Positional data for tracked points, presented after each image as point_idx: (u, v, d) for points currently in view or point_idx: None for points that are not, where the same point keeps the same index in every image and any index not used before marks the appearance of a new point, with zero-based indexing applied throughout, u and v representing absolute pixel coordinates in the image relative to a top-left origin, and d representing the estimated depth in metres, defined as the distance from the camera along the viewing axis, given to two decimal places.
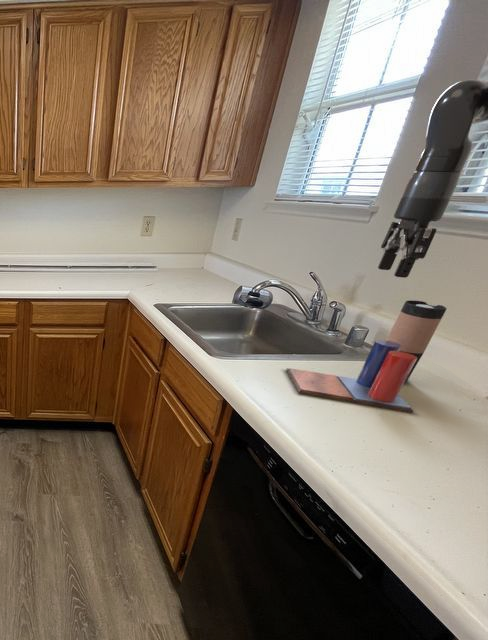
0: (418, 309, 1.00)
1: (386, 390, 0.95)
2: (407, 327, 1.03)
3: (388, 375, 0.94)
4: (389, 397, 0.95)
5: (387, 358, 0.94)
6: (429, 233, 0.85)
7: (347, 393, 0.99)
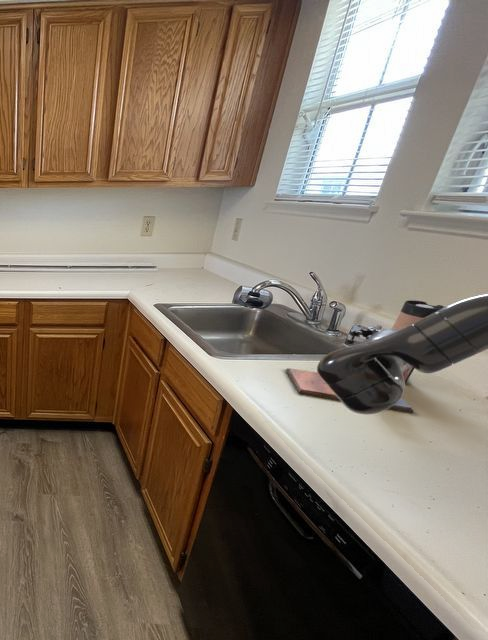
0: (418, 309, 1.00)
1: None
2: None
3: None
4: None
5: None
6: None
7: None
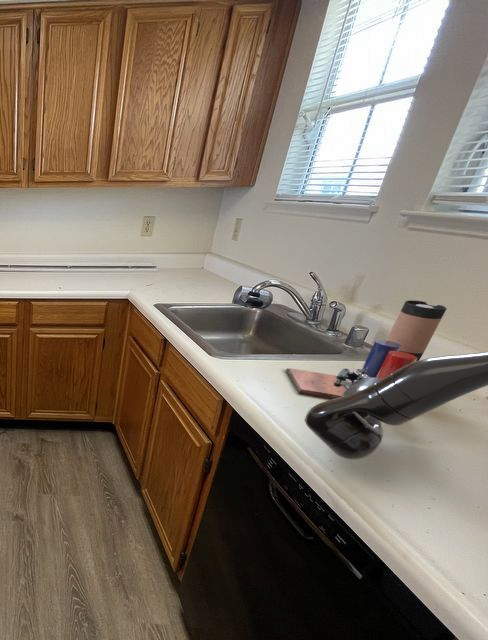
0: (418, 309, 1.00)
1: None
2: (407, 327, 1.03)
3: None
4: None
5: (387, 358, 0.94)
6: None
7: None
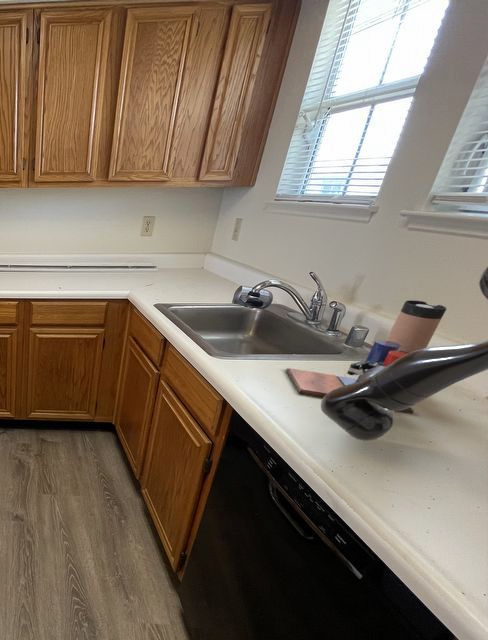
0: (418, 309, 1.00)
1: None
2: (407, 327, 1.03)
3: None
4: None
5: (387, 358, 0.94)
6: None
7: None
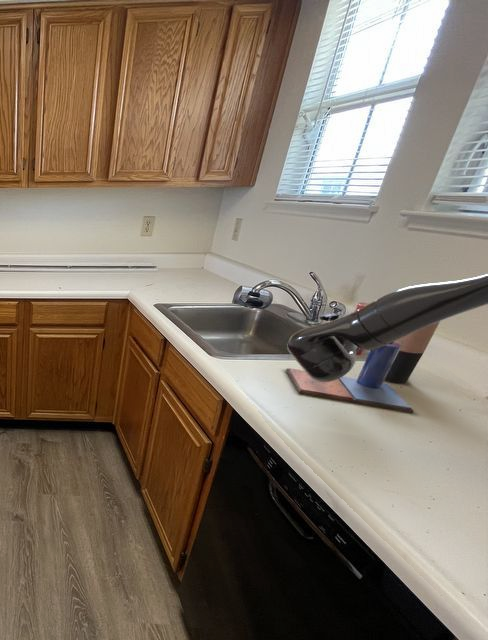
0: None
1: None
2: None
3: None
4: None
5: (356, 309, 0.93)
6: None
7: (347, 393, 0.99)
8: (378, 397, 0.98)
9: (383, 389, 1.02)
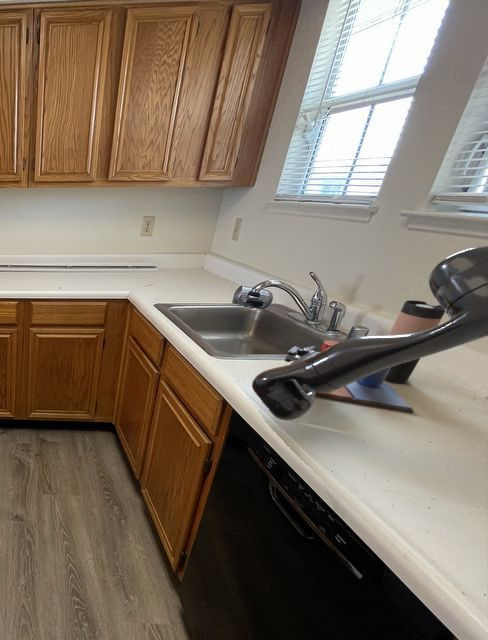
0: (418, 309, 1.00)
1: None
2: (407, 327, 1.03)
3: None
4: None
5: (322, 347, 0.99)
6: None
7: (347, 393, 0.99)
8: (378, 397, 0.98)
9: (383, 389, 1.02)
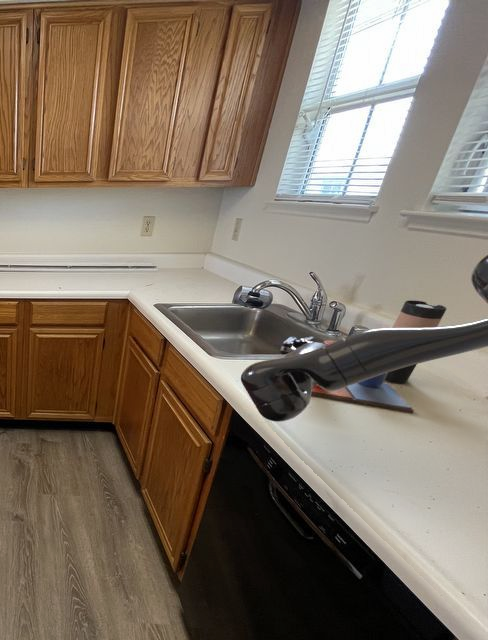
0: (418, 309, 1.00)
1: None
2: (407, 327, 1.03)
3: None
4: None
5: None
6: None
7: (347, 393, 0.99)
8: (378, 397, 0.98)
9: (383, 389, 1.02)
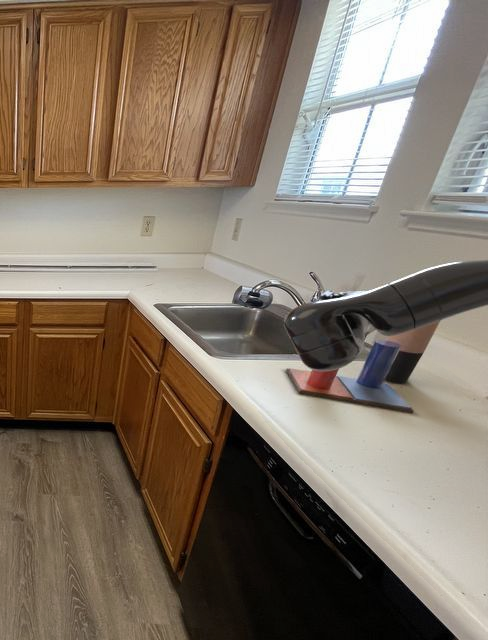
0: None
1: (321, 378, 1.00)
2: None
3: None
4: (325, 384, 1.00)
5: None
6: None
7: (347, 393, 0.99)
8: (378, 397, 0.98)
9: (383, 389, 1.02)
